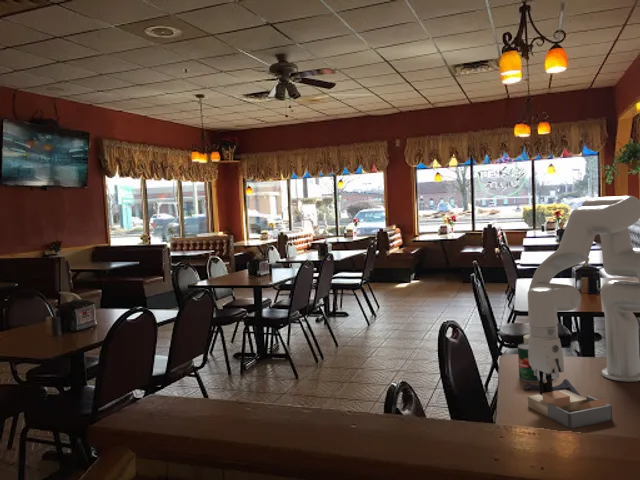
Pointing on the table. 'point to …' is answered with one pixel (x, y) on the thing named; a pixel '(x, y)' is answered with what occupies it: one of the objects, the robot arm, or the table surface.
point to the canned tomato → (525, 365)
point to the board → (575, 401)
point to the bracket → (563, 386)
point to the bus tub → (580, 415)
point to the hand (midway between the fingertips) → (546, 394)
